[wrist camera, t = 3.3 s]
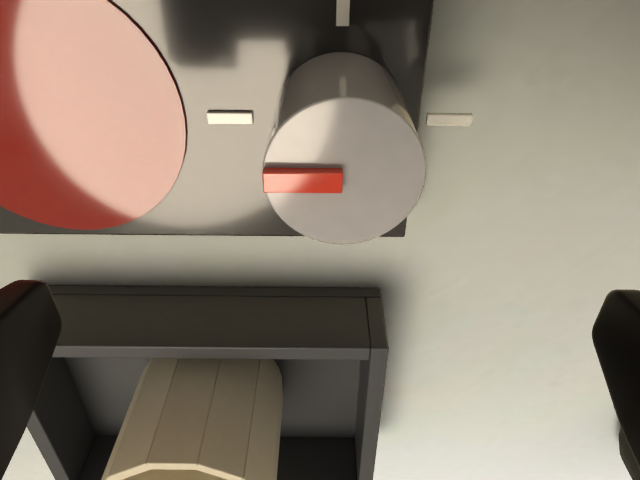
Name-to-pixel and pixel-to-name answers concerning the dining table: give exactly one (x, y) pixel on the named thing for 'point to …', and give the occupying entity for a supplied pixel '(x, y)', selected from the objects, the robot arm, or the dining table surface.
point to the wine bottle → (628, 457)
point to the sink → (218, 343)
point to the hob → (255, 97)
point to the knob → (342, 151)
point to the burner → (84, 115)
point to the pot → (201, 422)
